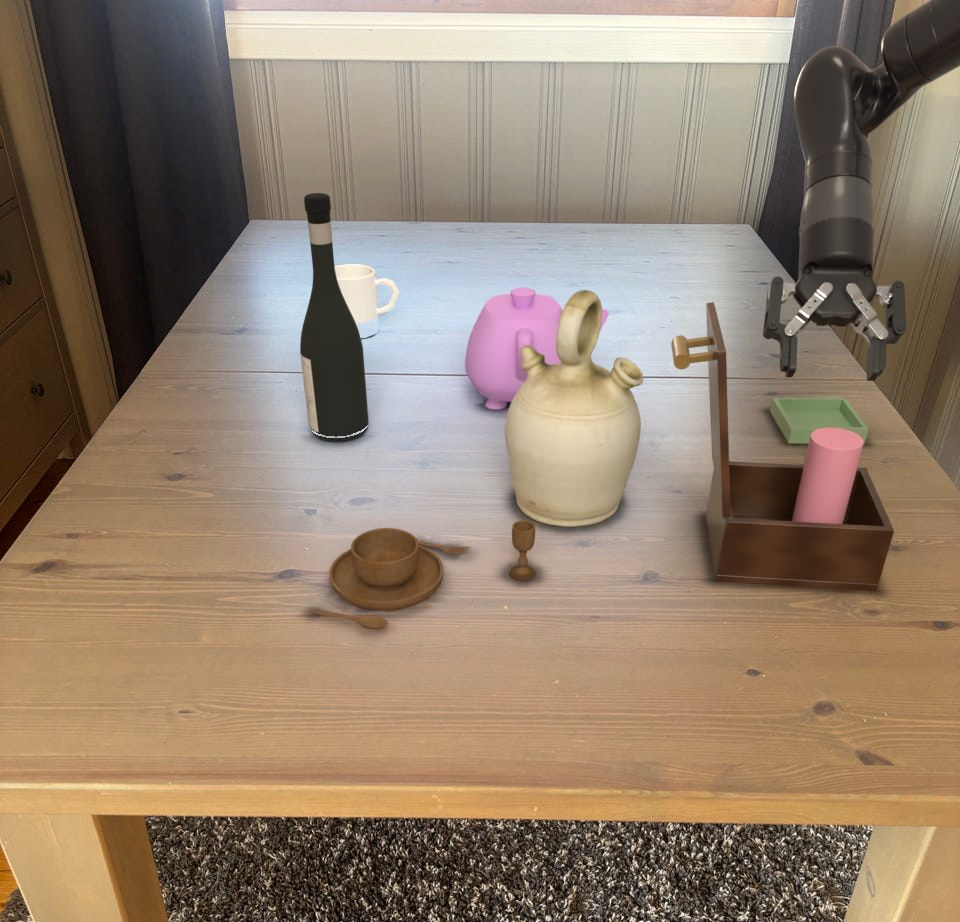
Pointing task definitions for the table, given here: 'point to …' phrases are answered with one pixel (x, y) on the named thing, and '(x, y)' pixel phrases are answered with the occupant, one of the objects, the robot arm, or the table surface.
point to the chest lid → (712, 396)
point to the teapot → (511, 342)
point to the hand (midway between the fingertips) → (831, 376)
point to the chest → (795, 532)
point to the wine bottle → (330, 341)
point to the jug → (573, 425)
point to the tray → (815, 417)
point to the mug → (363, 291)
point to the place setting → (402, 570)
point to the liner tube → (828, 476)
